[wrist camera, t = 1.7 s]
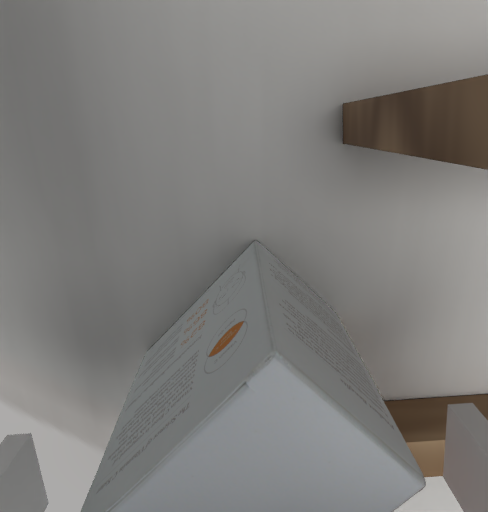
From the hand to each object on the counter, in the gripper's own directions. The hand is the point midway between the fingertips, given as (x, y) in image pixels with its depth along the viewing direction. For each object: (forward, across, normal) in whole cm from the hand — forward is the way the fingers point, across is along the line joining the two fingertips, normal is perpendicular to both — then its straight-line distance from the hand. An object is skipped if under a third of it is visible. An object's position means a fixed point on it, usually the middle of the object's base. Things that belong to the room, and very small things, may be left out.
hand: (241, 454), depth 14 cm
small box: (+8, 0, 0) cm, 8 cm away
